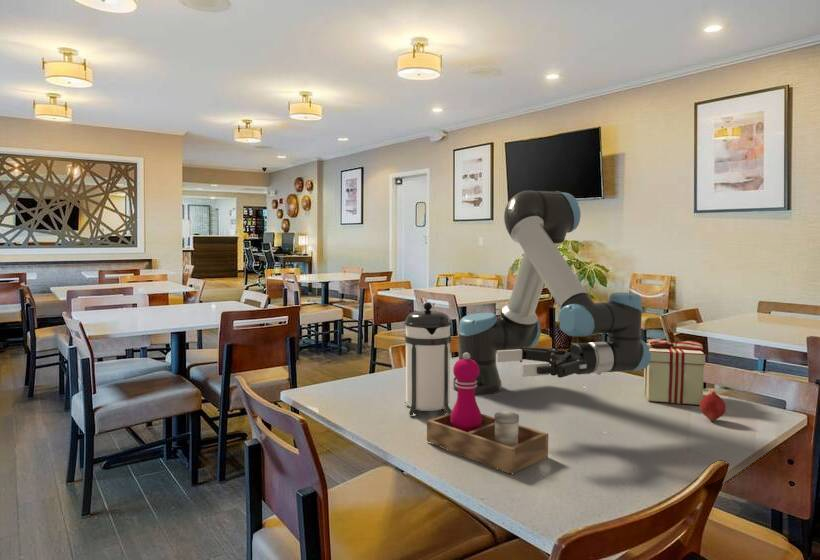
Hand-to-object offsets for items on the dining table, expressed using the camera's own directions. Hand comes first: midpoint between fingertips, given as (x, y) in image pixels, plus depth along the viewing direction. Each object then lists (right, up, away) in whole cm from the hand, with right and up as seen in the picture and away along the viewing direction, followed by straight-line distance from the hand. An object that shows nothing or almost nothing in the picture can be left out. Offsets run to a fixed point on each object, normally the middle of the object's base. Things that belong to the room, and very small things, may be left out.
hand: (508, 362), depth 128 cm
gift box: (+54, -16, +36) cm, 67 cm away
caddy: (-6, -19, -6) cm, 20 cm away
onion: (+55, -17, +14) cm, 59 cm away
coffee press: (-19, -17, +24) cm, 35 cm away
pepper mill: (-10, -17, -1) cm, 20 cm away
